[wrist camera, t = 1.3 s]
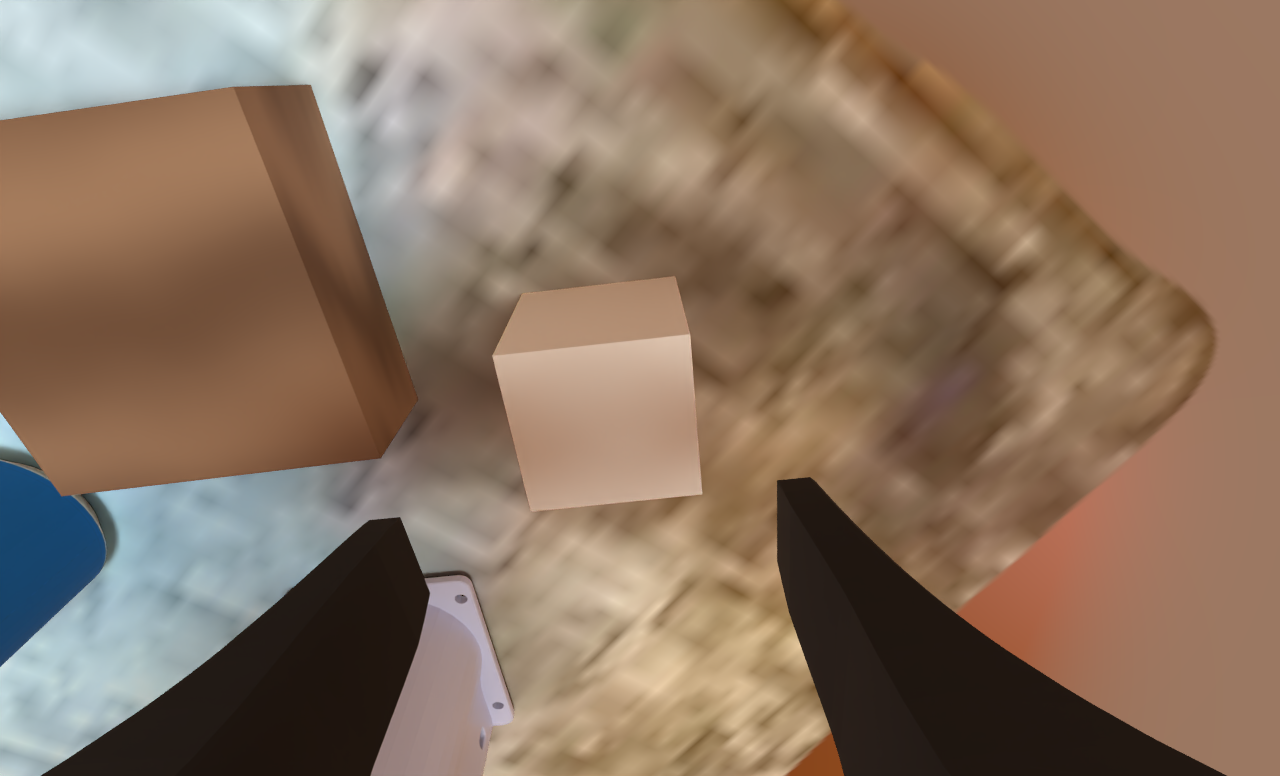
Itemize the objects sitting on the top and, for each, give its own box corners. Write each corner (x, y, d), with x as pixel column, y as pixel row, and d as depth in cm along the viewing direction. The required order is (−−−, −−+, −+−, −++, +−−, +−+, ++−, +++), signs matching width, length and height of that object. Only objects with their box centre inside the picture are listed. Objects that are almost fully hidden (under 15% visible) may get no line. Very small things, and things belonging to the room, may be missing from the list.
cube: (686, 408, 22) (702, 494, 17) (549, 423, 22) (530, 511, 17) (674, 275, 19) (690, 334, 15) (522, 292, 19) (492, 355, 15)
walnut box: (421, 394, 21) (380, 458, 18) (153, 427, 22) (61, 496, 18) (316, 84, 17) (233, 86, 13) (-23, 133, 17) (-191, 148, 14)
